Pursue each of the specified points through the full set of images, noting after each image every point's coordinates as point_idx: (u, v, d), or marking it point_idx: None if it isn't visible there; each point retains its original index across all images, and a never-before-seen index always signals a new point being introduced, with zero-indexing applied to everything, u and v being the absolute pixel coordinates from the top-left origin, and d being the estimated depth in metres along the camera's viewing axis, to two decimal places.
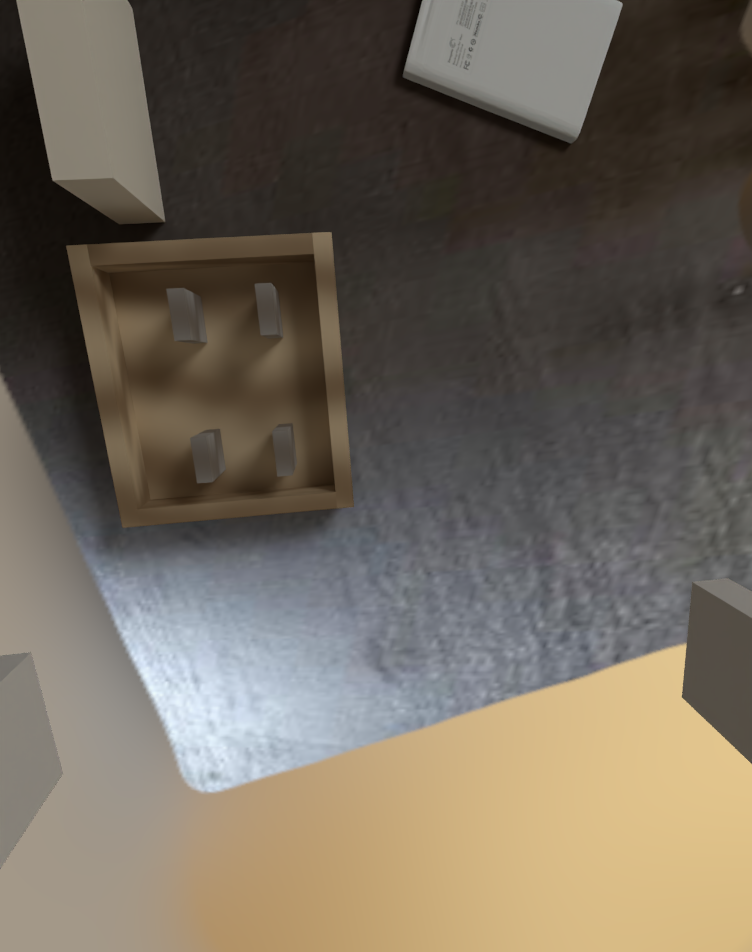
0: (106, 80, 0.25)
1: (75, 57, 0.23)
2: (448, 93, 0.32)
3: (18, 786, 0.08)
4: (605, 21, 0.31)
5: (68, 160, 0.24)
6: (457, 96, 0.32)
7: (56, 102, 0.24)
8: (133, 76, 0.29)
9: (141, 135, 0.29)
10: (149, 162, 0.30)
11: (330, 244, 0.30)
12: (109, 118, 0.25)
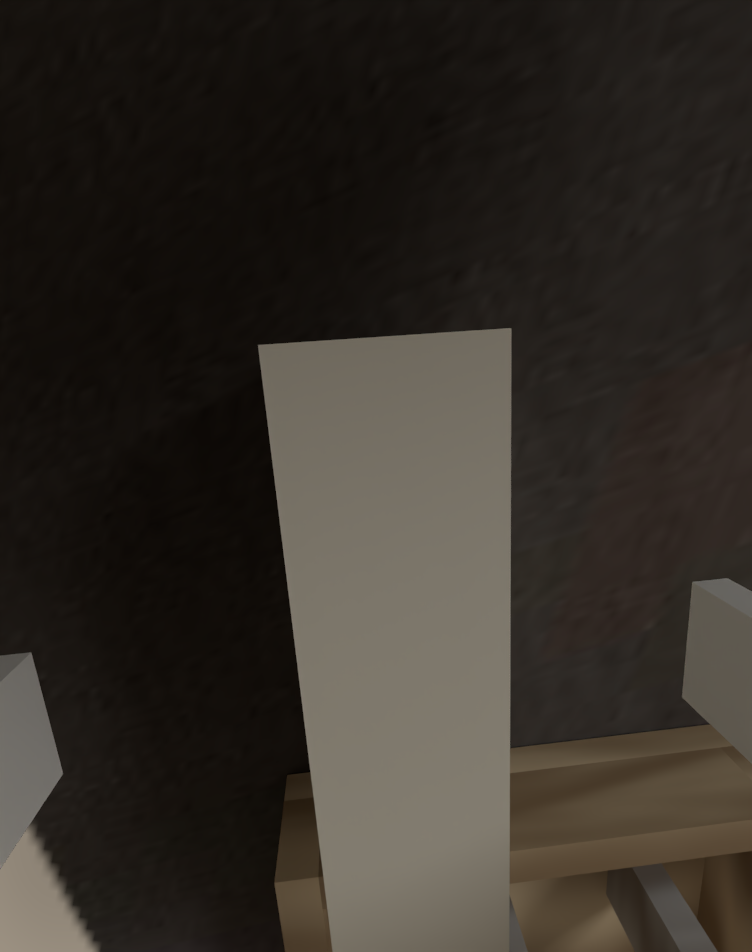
0: None
1: (458, 787, 0.07)
2: None
3: (18, 786, 0.08)
4: None
5: None
6: None
7: (383, 891, 0.08)
8: None
9: None
10: None
11: None
12: None
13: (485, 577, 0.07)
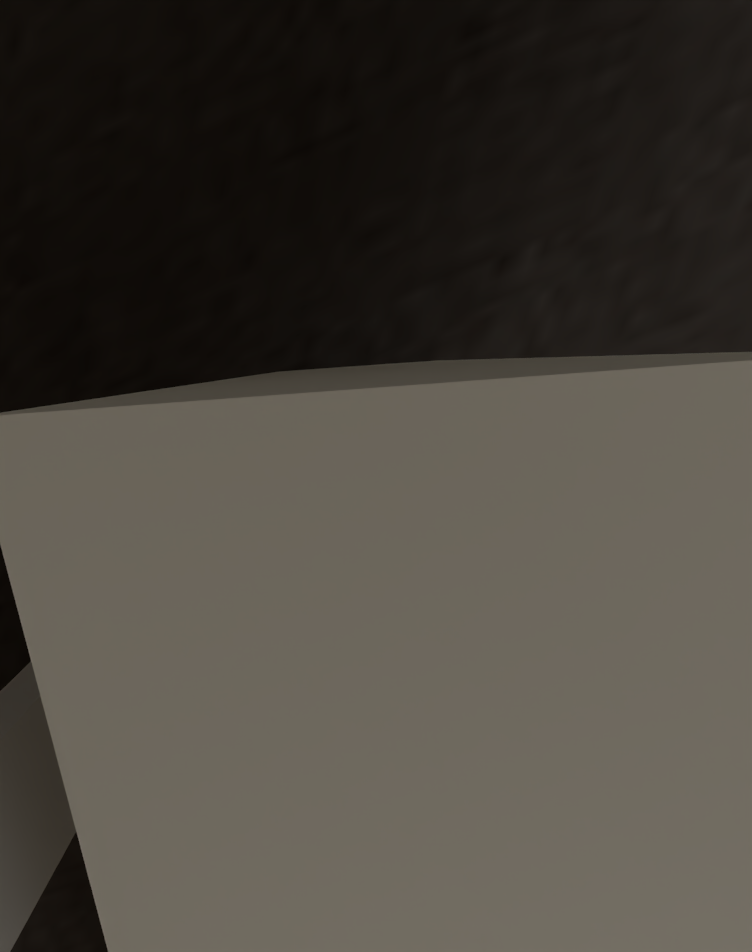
0: None
1: None
2: None
3: None
4: None
5: None
6: None
7: None
8: None
9: None
10: None
11: None
12: None
13: None
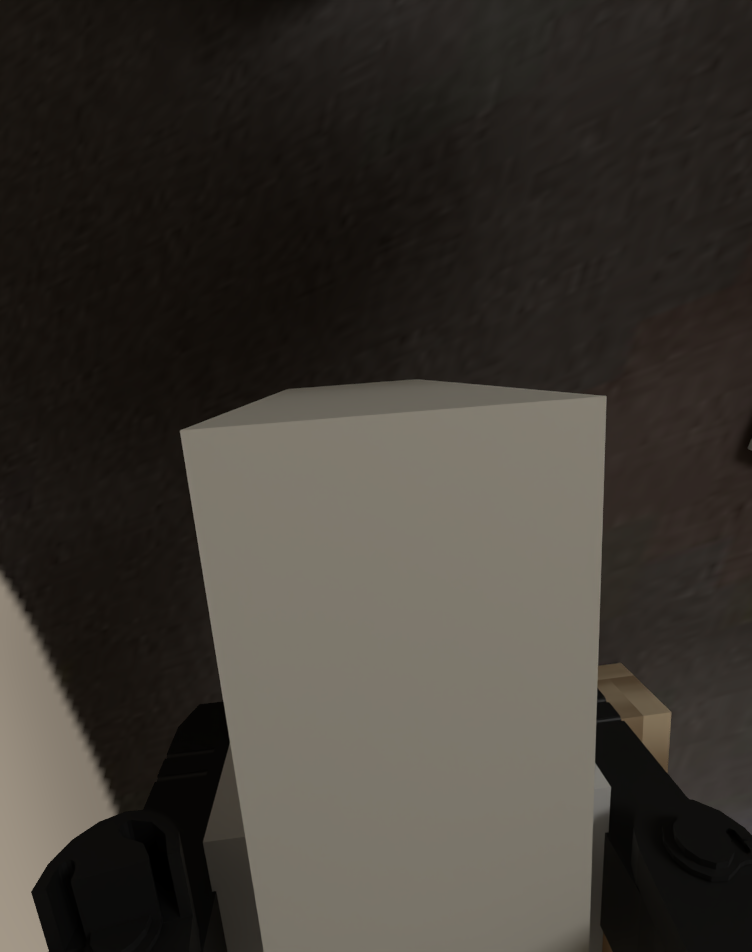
0: None
1: None
2: None
3: None
4: None
5: None
6: None
7: None
8: None
9: None
10: None
11: (667, 727, 0.20)
12: None
13: (555, 777, 0.04)
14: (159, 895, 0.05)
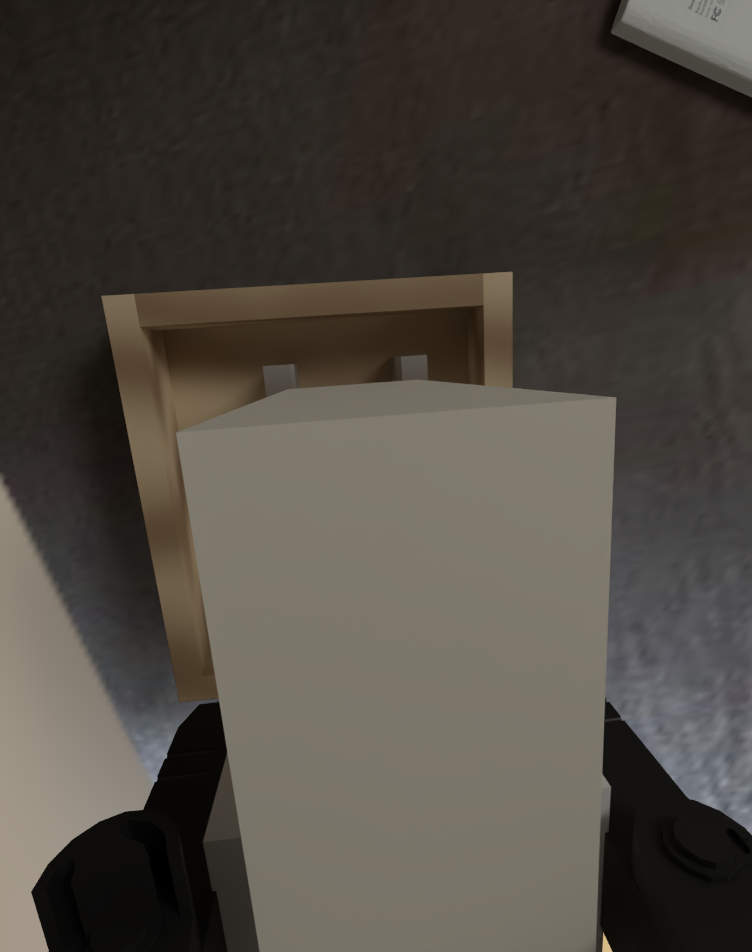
0: None
1: None
2: (677, 59, 0.21)
3: None
4: None
5: None
6: (690, 63, 0.21)
7: None
8: None
9: None
10: None
11: (509, 290, 0.20)
12: None
13: (562, 789, 0.04)
14: (159, 895, 0.05)
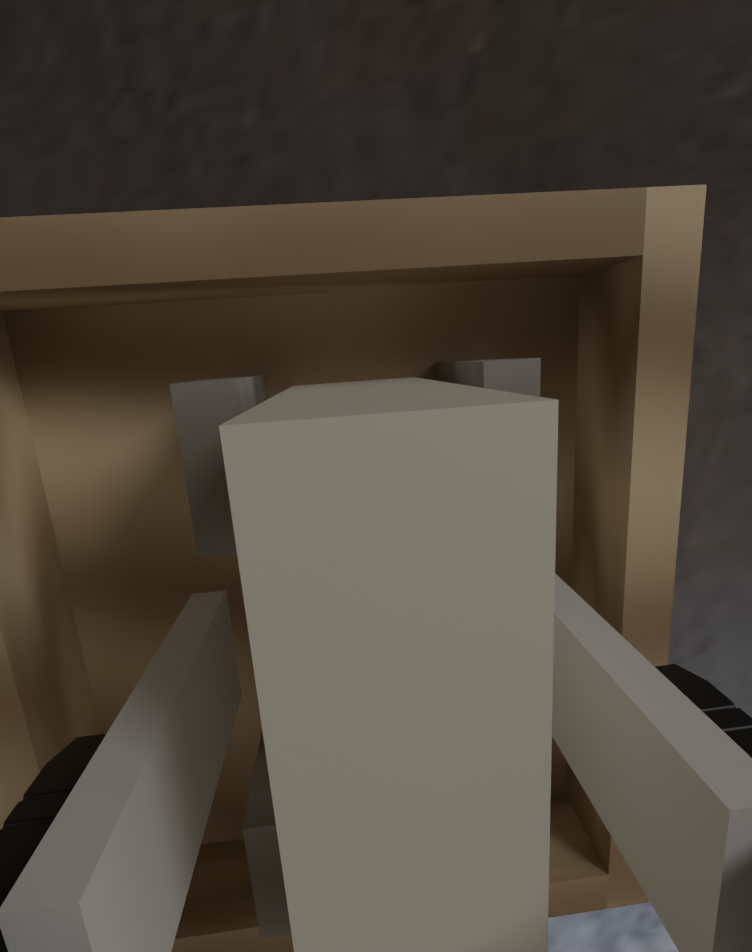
0: None
1: None
2: None
3: (227, 694, 0.10)
4: None
5: None
6: None
7: None
8: None
9: None
10: None
11: (696, 225, 0.09)
12: None
13: (521, 711, 0.05)
14: None
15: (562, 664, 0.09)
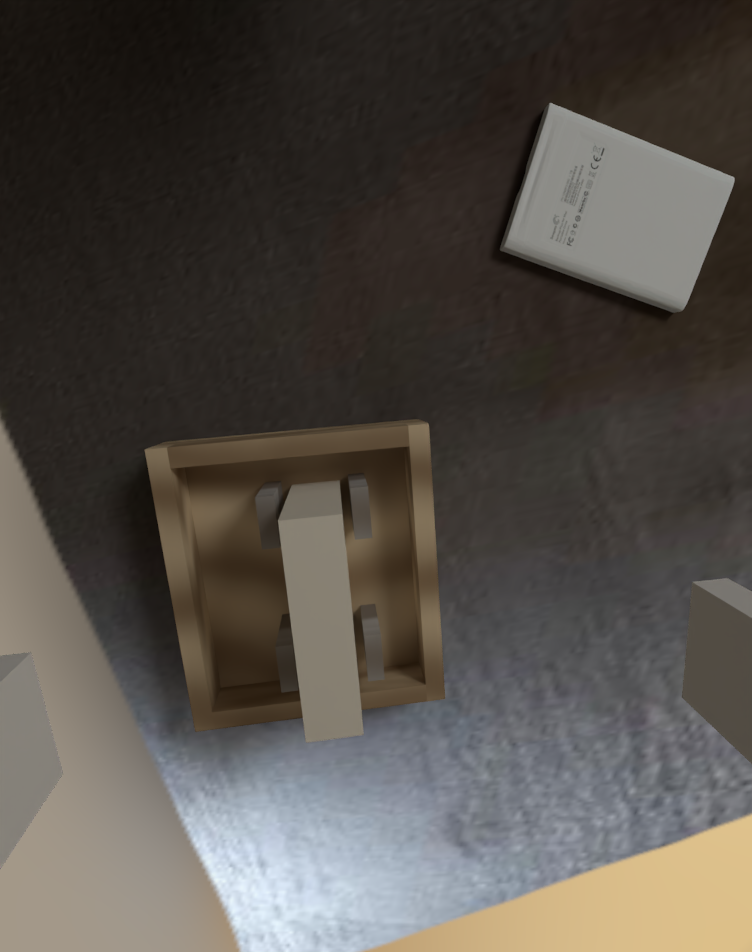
0: None
1: (338, 644, 0.24)
2: (547, 266, 0.30)
3: (18, 786, 0.08)
4: (716, 196, 0.29)
5: (322, 725, 0.25)
6: (557, 269, 0.30)
7: (316, 681, 0.24)
8: None
9: None
10: None
11: (427, 436, 0.28)
12: (357, 672, 0.25)
13: (341, 578, 0.23)
14: None
15: None
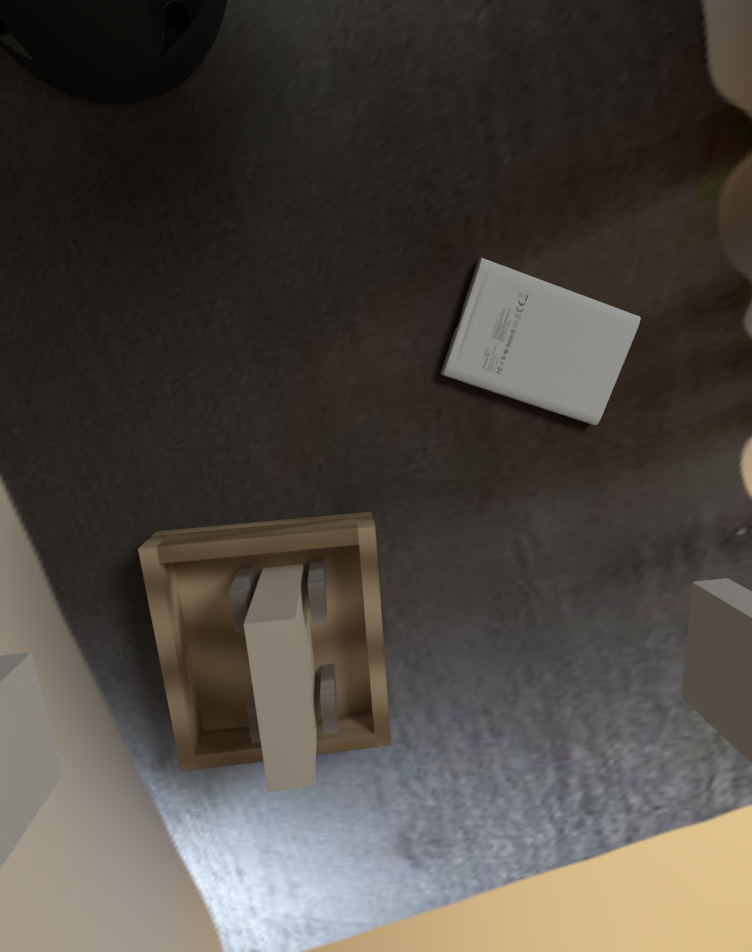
0: (308, 704, 0.32)
1: (293, 717, 0.30)
2: (481, 387, 0.35)
3: (18, 786, 0.08)
4: (625, 333, 0.35)
5: (281, 778, 0.31)
6: (489, 390, 0.35)
7: (276, 745, 0.30)
8: (307, 632, 0.35)
9: (311, 672, 0.36)
10: (313, 680, 0.37)
11: (374, 536, 0.34)
12: (310, 735, 0.31)
13: (295, 667, 0.29)
14: None
15: None
